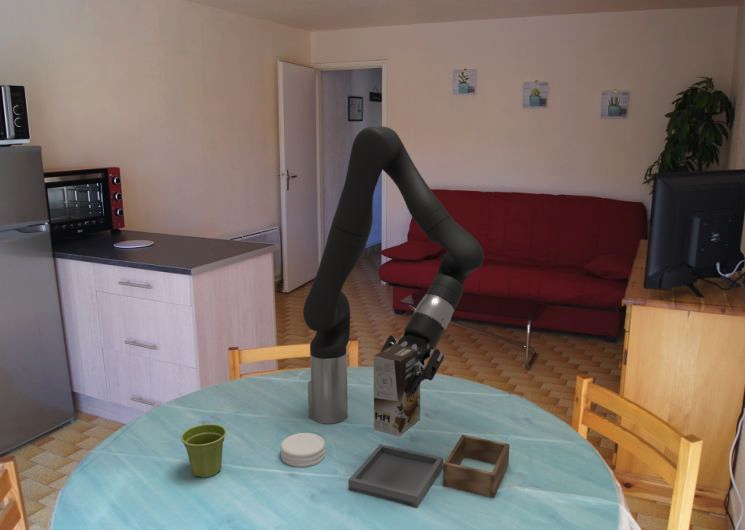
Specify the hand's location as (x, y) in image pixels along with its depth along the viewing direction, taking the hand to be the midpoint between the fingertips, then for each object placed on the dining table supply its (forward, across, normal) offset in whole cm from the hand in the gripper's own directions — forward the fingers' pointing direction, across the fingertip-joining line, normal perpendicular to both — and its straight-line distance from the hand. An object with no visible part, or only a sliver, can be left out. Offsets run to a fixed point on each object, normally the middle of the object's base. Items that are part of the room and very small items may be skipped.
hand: (392, 388), depth 124 cm
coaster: (+20, -22, +10) cm, 31 cm away
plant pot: (+33, -32, -3) cm, 46 cm away
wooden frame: (+5, +11, +25) cm, 28 cm away
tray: (+14, 0, +16) cm, 21 cm away
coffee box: (+5, 0, +7) cm, 9 cm away
